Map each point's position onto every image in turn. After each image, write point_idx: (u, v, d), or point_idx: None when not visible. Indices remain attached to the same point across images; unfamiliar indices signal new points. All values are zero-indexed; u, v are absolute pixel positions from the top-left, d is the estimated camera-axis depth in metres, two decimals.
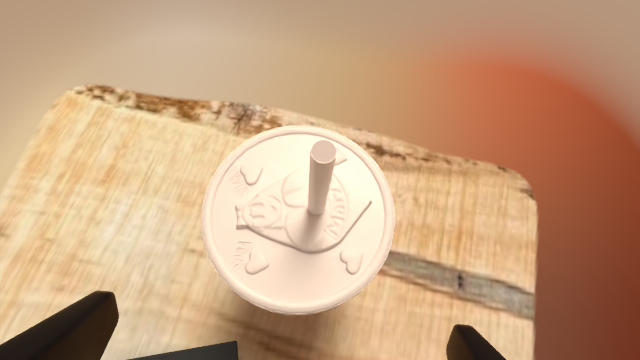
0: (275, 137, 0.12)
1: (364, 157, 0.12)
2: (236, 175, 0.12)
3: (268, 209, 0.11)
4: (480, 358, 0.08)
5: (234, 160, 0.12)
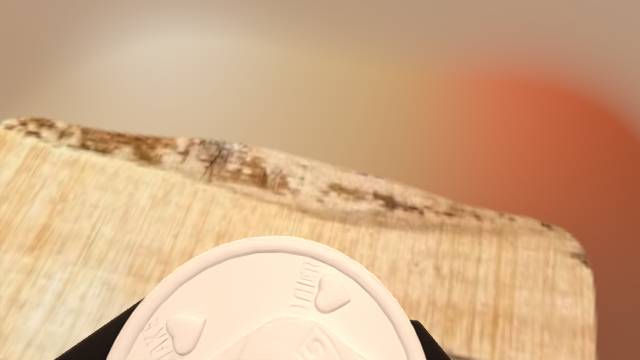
0: (230, 259, 0.07)
1: (380, 297, 0.07)
2: (160, 333, 0.07)
3: None
4: None
5: (157, 304, 0.07)
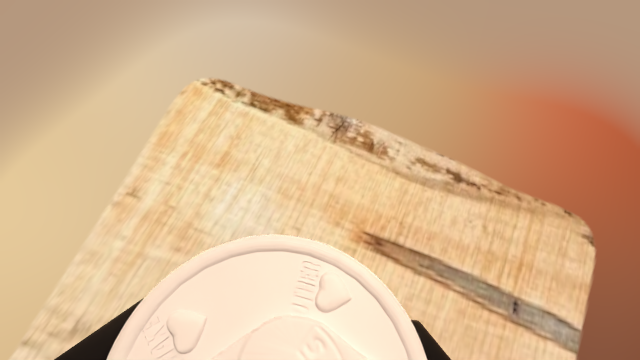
0: (231, 258, 0.07)
1: (381, 296, 0.07)
2: (161, 332, 0.07)
3: None
4: None
5: (158, 303, 0.07)
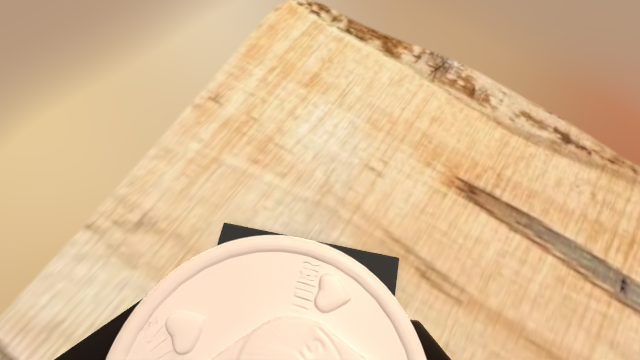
0: (230, 259, 0.07)
1: (380, 296, 0.07)
2: (160, 333, 0.07)
3: None
4: None
5: (157, 303, 0.07)
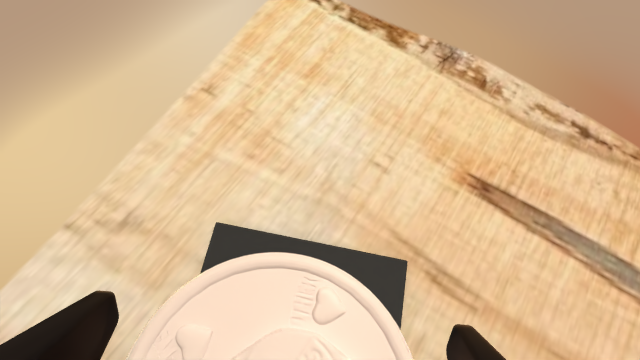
0: (234, 275, 0.08)
1: (373, 309, 0.08)
2: (171, 345, 0.07)
3: None
4: (480, 358, 0.08)
5: (167, 318, 0.07)
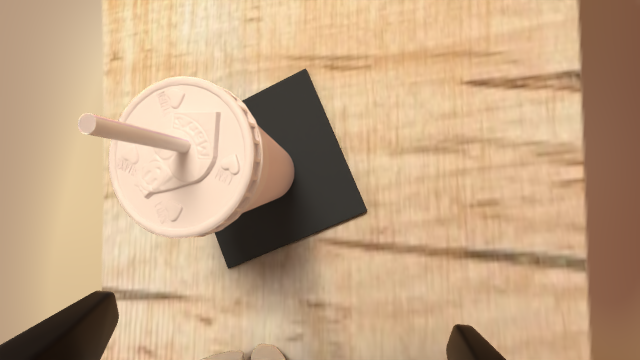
0: (128, 116, 0.14)
1: (194, 82, 0.13)
2: (124, 163, 0.14)
3: (155, 171, 0.13)
4: (480, 358, 0.08)
5: (115, 154, 0.14)
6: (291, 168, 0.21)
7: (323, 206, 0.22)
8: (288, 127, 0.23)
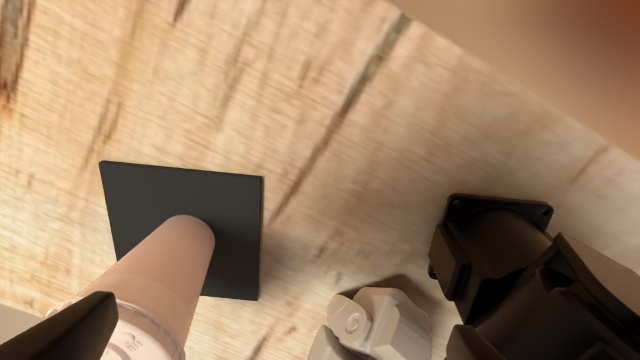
0: None
1: None
2: None
3: None
4: (480, 358, 0.08)
5: None
6: (189, 224, 0.22)
7: (239, 210, 0.22)
8: (152, 203, 0.22)
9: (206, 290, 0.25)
